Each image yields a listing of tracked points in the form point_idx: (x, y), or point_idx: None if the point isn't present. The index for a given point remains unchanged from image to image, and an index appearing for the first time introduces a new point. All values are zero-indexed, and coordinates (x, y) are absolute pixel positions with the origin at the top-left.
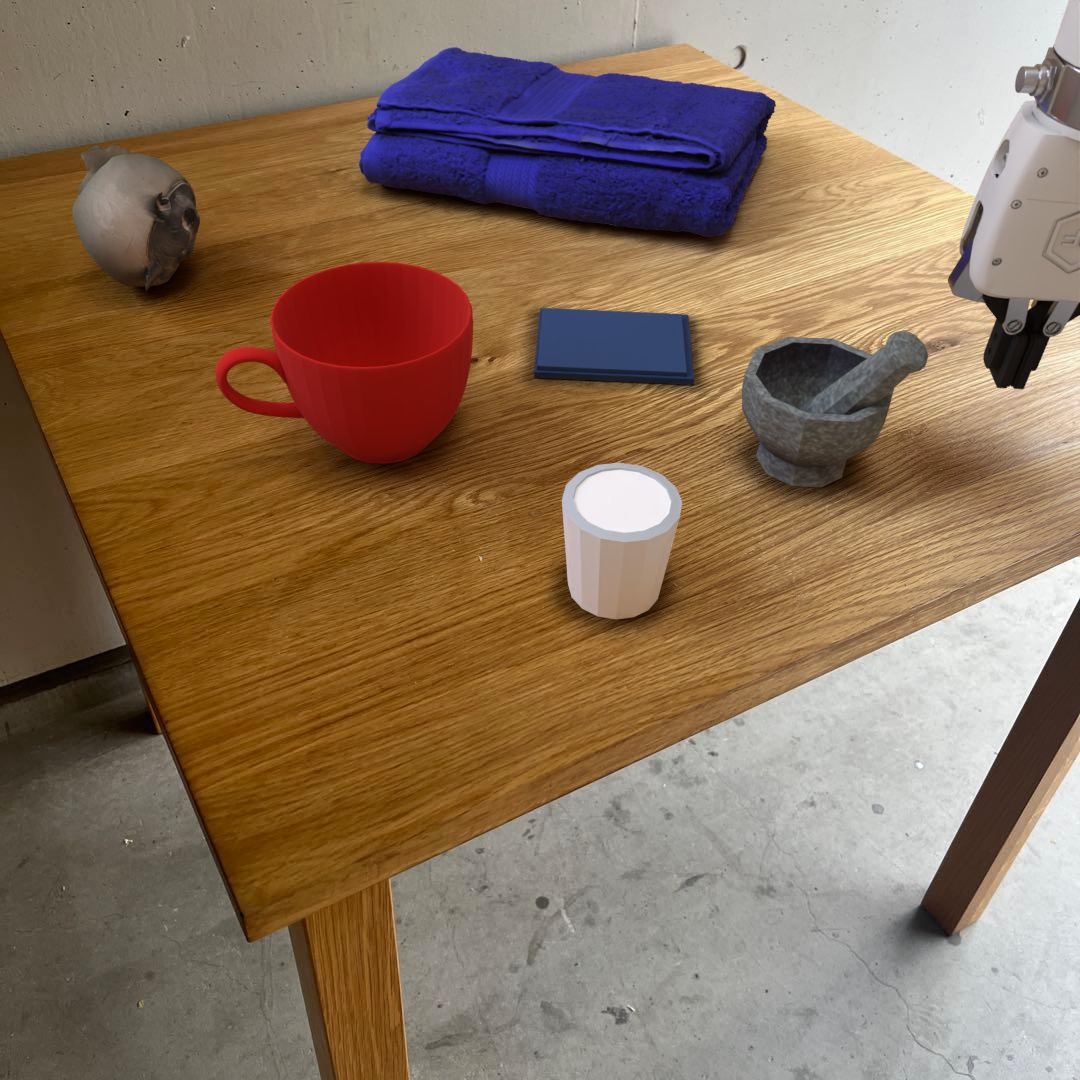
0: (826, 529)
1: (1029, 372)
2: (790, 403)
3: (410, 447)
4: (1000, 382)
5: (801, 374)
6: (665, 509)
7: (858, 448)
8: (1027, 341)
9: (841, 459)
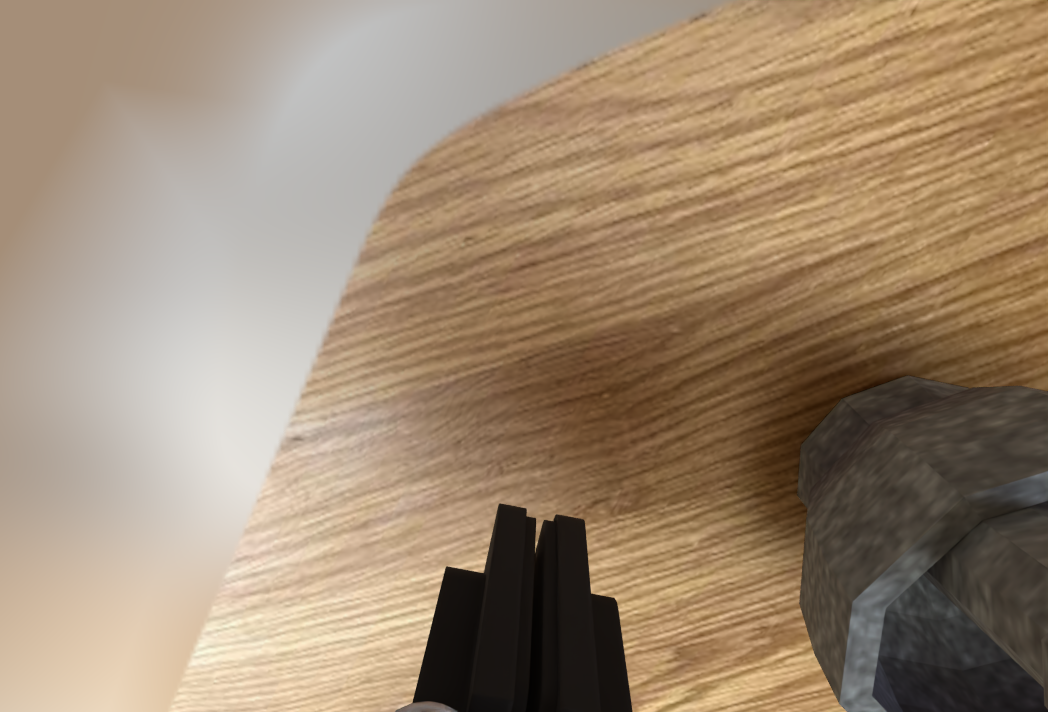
0: (979, 241)
1: (495, 551)
2: (929, 597)
3: None
4: (584, 534)
5: (932, 670)
6: None
7: (958, 406)
8: (541, 689)
9: (974, 392)
